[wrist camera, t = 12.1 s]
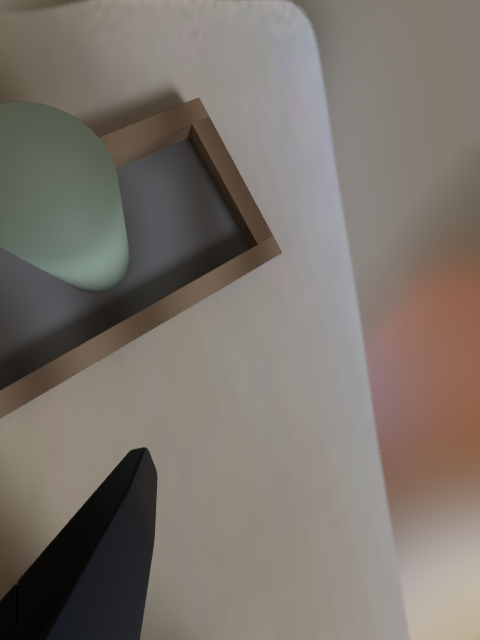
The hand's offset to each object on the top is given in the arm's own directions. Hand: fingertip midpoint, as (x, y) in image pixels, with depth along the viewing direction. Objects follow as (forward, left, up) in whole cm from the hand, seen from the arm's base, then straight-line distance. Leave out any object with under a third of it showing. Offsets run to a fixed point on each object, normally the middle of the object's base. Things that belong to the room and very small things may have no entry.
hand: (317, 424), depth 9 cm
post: (-3, +9, -13) cm, 16 cm away
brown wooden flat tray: (-3, +9, -13) cm, 16 cm away
